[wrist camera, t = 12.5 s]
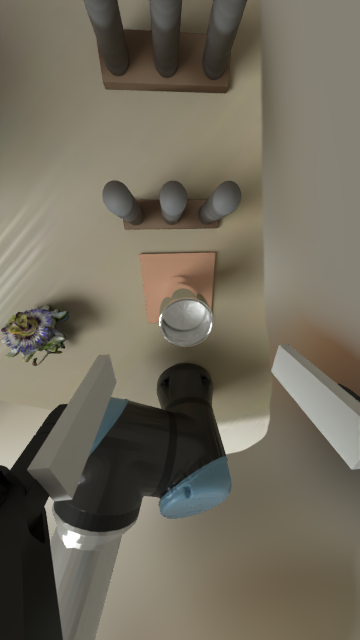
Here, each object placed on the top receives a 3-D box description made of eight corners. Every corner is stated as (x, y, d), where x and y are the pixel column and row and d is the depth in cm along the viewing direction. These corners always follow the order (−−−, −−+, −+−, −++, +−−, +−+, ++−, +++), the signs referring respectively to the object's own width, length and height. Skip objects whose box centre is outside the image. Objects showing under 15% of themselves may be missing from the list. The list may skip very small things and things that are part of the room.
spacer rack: (216, 228, 28) (242, 219, 19) (125, 229, 28) (102, 220, 18) (229, 44, 20) (290, -156, 10) (98, 38, 19) (22, -189, 9)
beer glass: (174, 266, 30) (180, 283, 17) (202, 287, 32) (227, 317, 19) (155, 295, 32) (145, 331, 19) (182, 313, 34) (191, 357, 21)
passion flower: (64, 300, 38) (61, 297, 28) (84, 341, 40) (88, 352, 30) (-1, 318, 32) (-33, 322, 22) (28, 364, 35) (10, 386, 25)
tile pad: (209, 318, 36) (210, 320, 36) (148, 321, 35) (147, 322, 35) (214, 252, 30) (215, 252, 30) (140, 254, 29) (139, 254, 29)
